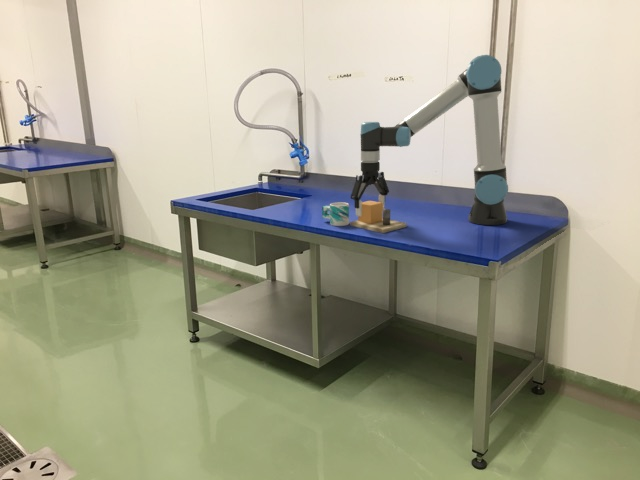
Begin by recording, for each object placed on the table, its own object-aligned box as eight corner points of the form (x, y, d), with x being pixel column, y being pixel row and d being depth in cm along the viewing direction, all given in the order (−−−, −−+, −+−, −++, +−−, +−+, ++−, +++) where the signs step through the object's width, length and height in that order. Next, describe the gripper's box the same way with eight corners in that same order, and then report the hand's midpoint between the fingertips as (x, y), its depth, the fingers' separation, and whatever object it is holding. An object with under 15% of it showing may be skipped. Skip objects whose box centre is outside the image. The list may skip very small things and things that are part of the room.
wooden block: (369, 218, 225) (369, 200, 223) (382, 220, 220) (382, 202, 218) (358, 220, 221) (358, 203, 219) (370, 223, 216) (370, 205, 214)
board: (406, 226, 215) (406, 208, 213) (382, 233, 207) (383, 214, 205) (374, 219, 228) (374, 202, 226) (350, 225, 220) (350, 207, 218)
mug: (341, 226, 218) (341, 206, 216) (318, 223, 225) (317, 203, 223) (352, 222, 225) (352, 203, 222) (329, 219, 232) (329, 200, 229)
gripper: (384, 157, 224) (384, 207, 230) (341, 163, 209) (341, 216, 214) (397, 159, 219) (397, 209, 225) (354, 165, 203) (355, 219, 209)
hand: (370, 213), depth 220 cm, fingers open, 13 cm apart
